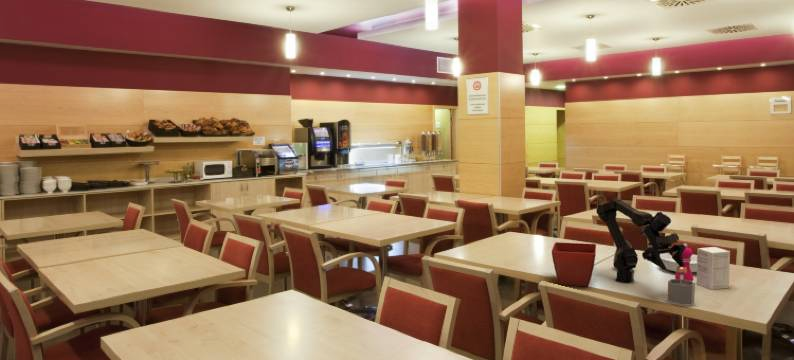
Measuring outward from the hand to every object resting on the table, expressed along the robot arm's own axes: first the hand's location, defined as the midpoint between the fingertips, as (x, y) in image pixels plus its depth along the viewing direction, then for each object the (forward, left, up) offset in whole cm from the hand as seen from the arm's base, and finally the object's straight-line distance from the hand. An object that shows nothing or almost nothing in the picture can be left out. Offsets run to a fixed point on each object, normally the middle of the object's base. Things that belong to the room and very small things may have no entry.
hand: (674, 268), depth 221 cm
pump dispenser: (-33, +32, -13) cm, 48 cm away
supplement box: (+7, +30, -13) cm, 34 cm away
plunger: (+3, -2, -6) cm, 8 cm away
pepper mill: (-2, +20, -13) cm, 24 cm away
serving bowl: (-11, +48, -14) cm, 51 cm away
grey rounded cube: (+3, -2, -13) cm, 14 cm away
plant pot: (-43, -3, -13) cm, 45 cm away
